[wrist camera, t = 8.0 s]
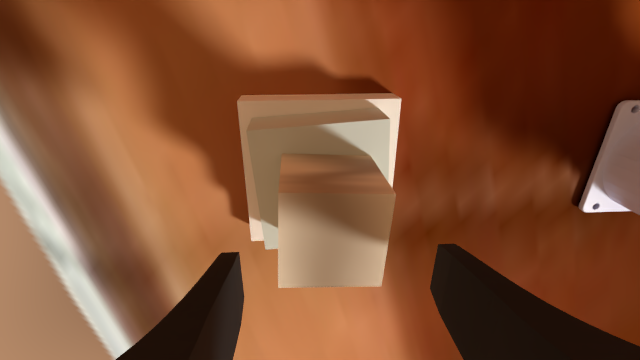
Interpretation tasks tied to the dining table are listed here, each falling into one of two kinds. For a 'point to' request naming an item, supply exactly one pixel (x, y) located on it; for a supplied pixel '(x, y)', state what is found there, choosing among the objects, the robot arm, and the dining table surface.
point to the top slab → (310, 149)
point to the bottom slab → (300, 105)
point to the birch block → (332, 221)
